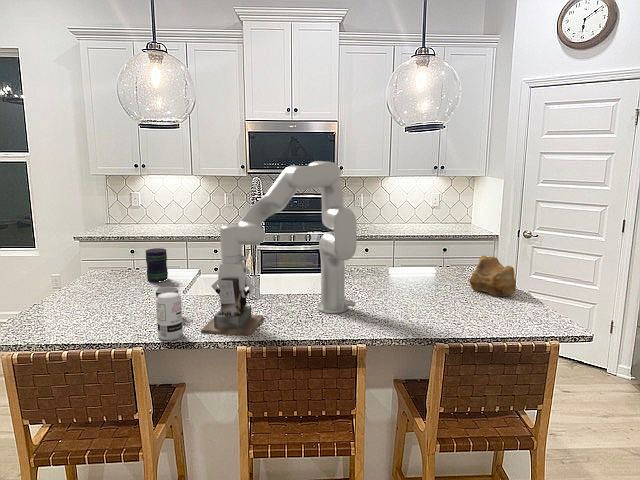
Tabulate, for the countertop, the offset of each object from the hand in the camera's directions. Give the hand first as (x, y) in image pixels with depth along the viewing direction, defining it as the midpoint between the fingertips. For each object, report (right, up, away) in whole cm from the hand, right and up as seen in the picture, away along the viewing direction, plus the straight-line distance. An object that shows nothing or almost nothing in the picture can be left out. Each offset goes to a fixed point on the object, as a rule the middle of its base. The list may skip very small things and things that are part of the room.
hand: (233, 306), depth 179 cm
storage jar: (-48, +4, +61) cm, 78 cm away
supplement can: (-20, -9, -10) cm, 24 cm away
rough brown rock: (+109, 0, +45) cm, 118 cm away
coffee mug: (-27, -5, +11) cm, 30 cm away
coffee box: (0, -5, +1) cm, 5 cm away
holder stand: (0, -7, +1) cm, 7 cm away
